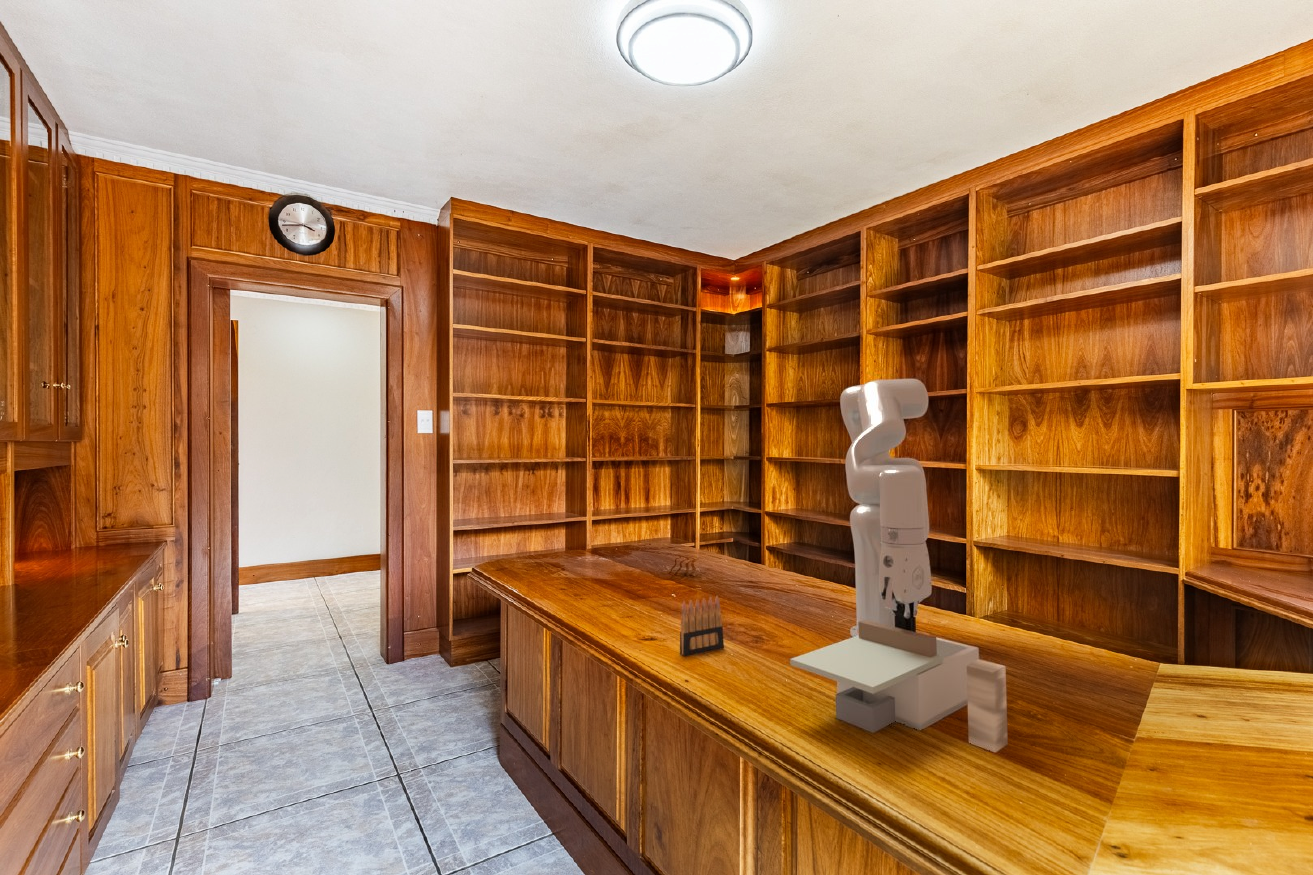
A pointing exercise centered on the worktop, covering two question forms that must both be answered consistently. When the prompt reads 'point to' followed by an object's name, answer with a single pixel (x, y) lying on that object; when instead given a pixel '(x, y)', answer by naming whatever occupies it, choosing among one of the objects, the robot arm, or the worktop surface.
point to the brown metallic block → (987, 705)
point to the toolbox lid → (873, 657)
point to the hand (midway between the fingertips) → (905, 637)
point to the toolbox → (912, 694)
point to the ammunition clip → (701, 628)
